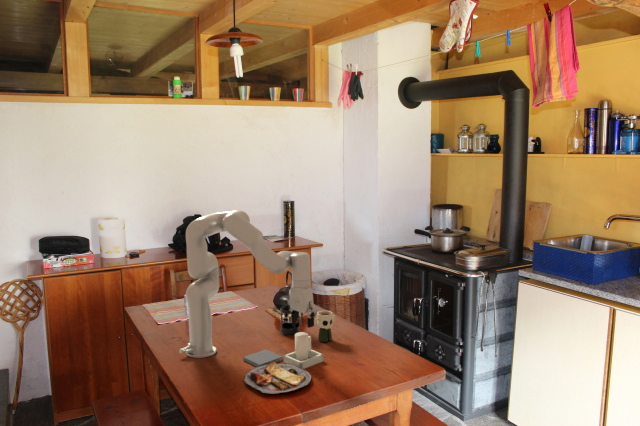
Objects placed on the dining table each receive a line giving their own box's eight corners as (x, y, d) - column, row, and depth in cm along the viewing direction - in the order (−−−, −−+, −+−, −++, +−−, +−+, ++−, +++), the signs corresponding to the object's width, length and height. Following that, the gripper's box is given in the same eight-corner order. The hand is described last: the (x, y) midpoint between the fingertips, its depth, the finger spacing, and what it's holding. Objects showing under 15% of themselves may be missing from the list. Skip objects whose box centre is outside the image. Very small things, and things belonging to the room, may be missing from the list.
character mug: (318, 345, 245) (318, 317, 243) (310, 340, 251) (310, 312, 249) (339, 340, 250) (339, 313, 249) (330, 335, 256) (330, 308, 255)
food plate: (232, 380, 210) (232, 371, 209) (279, 363, 226) (279, 355, 225) (274, 404, 192) (275, 395, 192) (322, 384, 208) (322, 375, 208)
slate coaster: (259, 368, 221) (259, 364, 221) (243, 360, 229) (243, 357, 228) (282, 359, 229) (282, 356, 229) (266, 352, 237) (266, 349, 237)
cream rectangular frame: (300, 370, 219) (300, 362, 219) (283, 362, 226) (283, 355, 226) (323, 361, 227) (323, 354, 227) (306, 354, 235) (306, 347, 235)
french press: (283, 337, 255) (283, 289, 251) (275, 331, 263) (275, 284, 260) (306, 333, 260) (306, 285, 257) (298, 327, 268) (297, 281, 265)
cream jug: (301, 366, 222) (300, 338, 221) (292, 362, 226) (291, 334, 225) (314, 361, 228) (314, 333, 226) (305, 357, 232) (305, 330, 230)
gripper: (280, 281, 225) (281, 321, 228) (309, 288, 213) (310, 331, 215) (294, 277, 230) (295, 317, 233) (323, 285, 218) (324, 326, 220)
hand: (302, 324), depth 224 cm, fingers open, 9 cm apart
